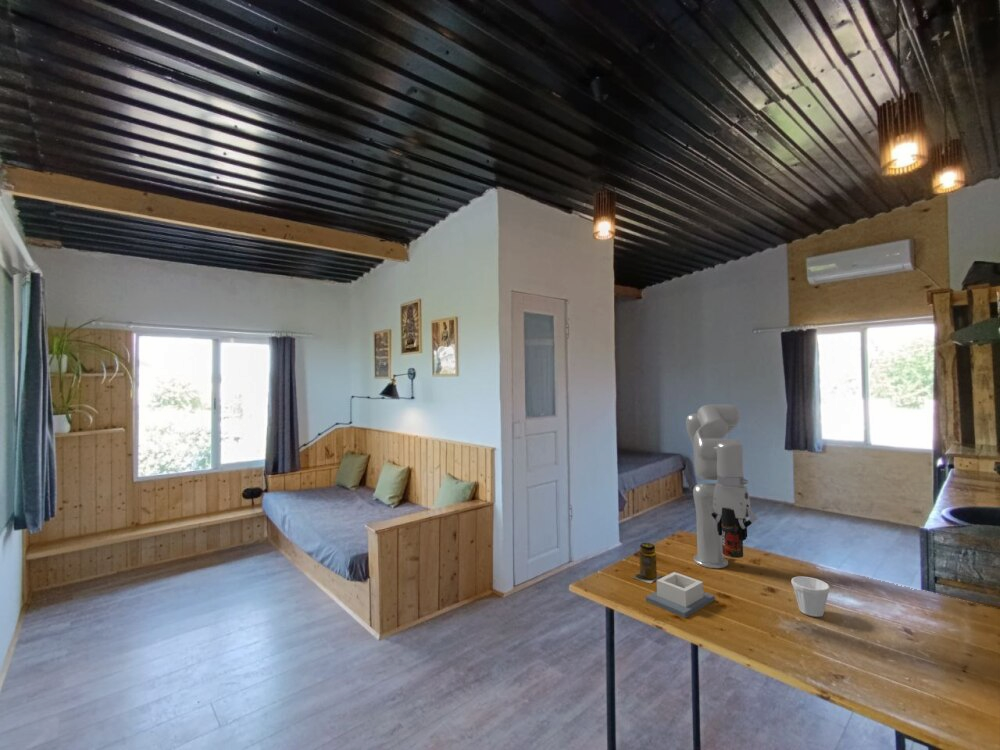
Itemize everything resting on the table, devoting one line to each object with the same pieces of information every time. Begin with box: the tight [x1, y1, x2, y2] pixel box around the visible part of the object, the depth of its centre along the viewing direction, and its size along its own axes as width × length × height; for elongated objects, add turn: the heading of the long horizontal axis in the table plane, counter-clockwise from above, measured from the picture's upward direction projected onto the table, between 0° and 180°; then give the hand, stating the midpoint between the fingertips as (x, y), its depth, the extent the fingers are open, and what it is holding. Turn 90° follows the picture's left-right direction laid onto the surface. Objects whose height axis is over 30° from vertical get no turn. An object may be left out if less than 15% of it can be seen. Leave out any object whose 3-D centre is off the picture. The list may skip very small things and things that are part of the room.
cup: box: [790, 576, 831, 618], centre depth 141 cm, size 10×10×9 cm
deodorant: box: [721, 508, 744, 559], centre depth 144 cm, size 6×6×15 cm
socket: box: [645, 571, 716, 619], centre depth 151 cm, size 18×14×6 cm
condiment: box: [632, 542, 662, 584], centre depth 170 cm, size 7×8×12 cm
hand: (732, 536), depth 144 cm, fingers closed on deodorant, 5 cm apart
